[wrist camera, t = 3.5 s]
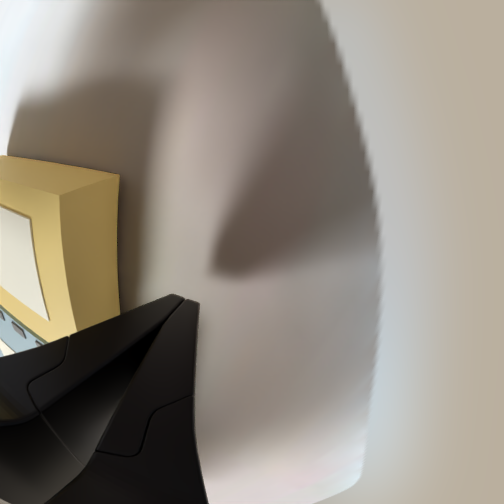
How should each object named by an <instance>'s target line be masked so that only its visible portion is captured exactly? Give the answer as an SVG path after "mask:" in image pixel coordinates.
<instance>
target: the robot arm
mask: <svg viewBox="0 0 504 504" xmlns="http://www.w3.org/2000/svg"><path fill="white" fill-rule="evenodd" d="M199 310H200V304H199V303H198V302H196V301H193V300H190V299H186V300H185V298H184V297H181V296H178V295H175V294H169V295H167V296H165V297H162V298H160V299H157V300H155V301H152V302H150V303H147V304H145V305H142V306H140V307H138V308H135V309H133V310H130V311H128V312H125V313H123V314H120V315H118V316H115V317H113V318H110V319H108V320H105V321H103V322H100V323H98V324H95V325H93V326H90V327H88V328H85V329H83V330H80V331H78V332H75V333H73V334H70V335H69V336H65V337H62V338H60V339H57V340H55V341H52V342H49V343H47V344H44V345H41V346H38V347H35V348H31V349H28V350H25V351H21V352H18V353H14V354H10V355H6V356H3V357H0V504H209V503H208V499H207V494H206V490H205V485H204V480H203V476H202V471H201V466H200V460H199V455H198V449H197V442H196V434H195V377H196V356H197V339H198V323H199Z"/></svg>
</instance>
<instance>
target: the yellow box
mask: <svg viewBox="0 0 504 504" xmlns="http://www.w3.org/2000/svg"><path fill="white" fill-rule="evenodd" d="M119 179H120V175H118V174H113V173H108V172H103V171H98V170H92V169H87V168H82V167H76V166H70V165H65V164H59V163H53V162H47V161H40V160H34V159H27V158H20V157H13V156H5V155H1V156H0V305H2V306H3V307H4V308H5V309H6V310H7V311H8V312H10V313H11V314H12V315H13V316H14V317H16V318H17V319H18V320H19V321H21V322H22V323H23V324H24V325H26V326H27V327H28V328H30V329H31V330H32V331H33V332H35V333H36V334H38V335H39V336H40V337H42V338H43V339H44V340H46V341H47V342H52V341H55V340H57V339H60V338H62V337H65V336H69V335H70V334H73V333H75V332H78V331H80V330H83V329H85V328H88V327H90V326H93V325H95V324H98V323H100V322H103V321H105V320H108V319H110V318H113V317H115V316H118V315H120V305H119V291H118V271H117V213H118V193H119Z"/></svg>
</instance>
